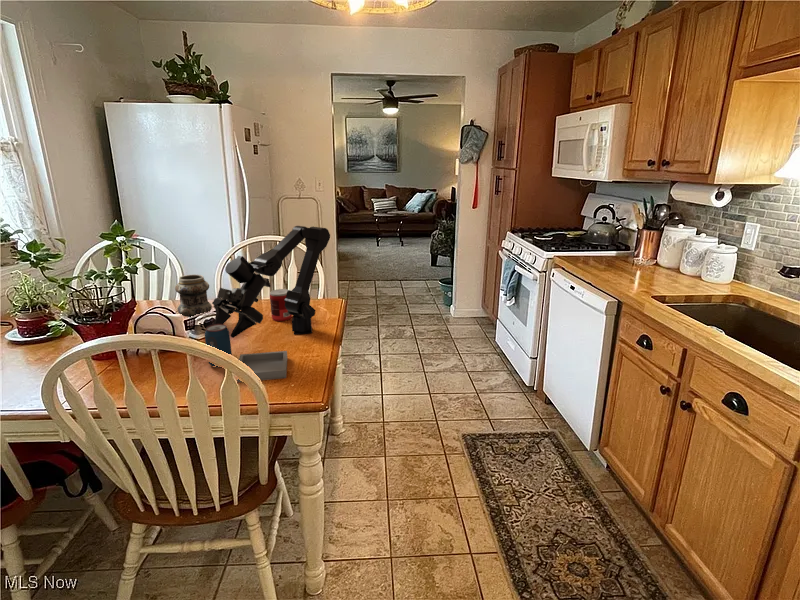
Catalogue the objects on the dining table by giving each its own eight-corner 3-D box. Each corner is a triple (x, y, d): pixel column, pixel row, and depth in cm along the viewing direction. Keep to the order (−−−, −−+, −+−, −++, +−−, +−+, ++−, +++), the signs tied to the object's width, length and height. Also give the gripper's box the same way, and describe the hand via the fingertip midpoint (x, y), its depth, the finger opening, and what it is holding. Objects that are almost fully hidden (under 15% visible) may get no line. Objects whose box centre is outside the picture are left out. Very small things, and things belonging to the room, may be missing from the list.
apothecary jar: (217, 322, 174) (212, 277, 169) (184, 329, 167) (177, 282, 161) (208, 314, 183) (202, 271, 178) (175, 321, 176) (169, 276, 170)
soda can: (231, 357, 144) (227, 321, 140) (234, 365, 138) (229, 329, 135) (207, 361, 141) (202, 325, 138) (209, 370, 135) (204, 332, 132)
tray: (287, 358, 144) (286, 350, 143) (286, 378, 131) (285, 370, 130) (241, 361, 141) (240, 354, 140) (235, 382, 128) (234, 374, 127)
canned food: (294, 315, 183) (292, 288, 180) (289, 321, 176) (287, 294, 172) (275, 314, 183) (273, 288, 180) (269, 321, 176) (267, 294, 172)
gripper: (214, 272, 143) (185, 314, 137) (251, 281, 132) (222, 327, 127) (238, 291, 151) (211, 331, 146) (275, 301, 141) (248, 345, 135)
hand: (222, 333), depth 138 cm, fingers open, 9 cm apart
